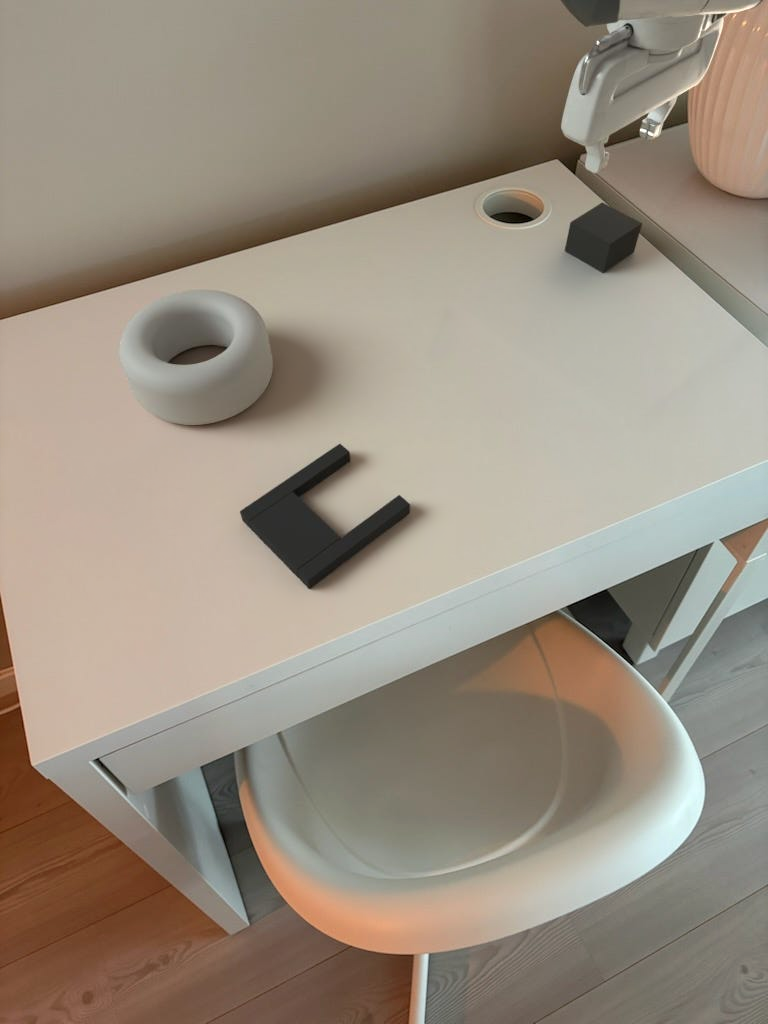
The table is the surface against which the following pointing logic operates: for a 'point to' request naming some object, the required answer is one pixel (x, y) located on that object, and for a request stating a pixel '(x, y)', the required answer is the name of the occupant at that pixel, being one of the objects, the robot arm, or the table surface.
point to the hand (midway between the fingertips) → (622, 152)
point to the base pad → (314, 522)
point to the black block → (602, 237)
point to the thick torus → (204, 385)
